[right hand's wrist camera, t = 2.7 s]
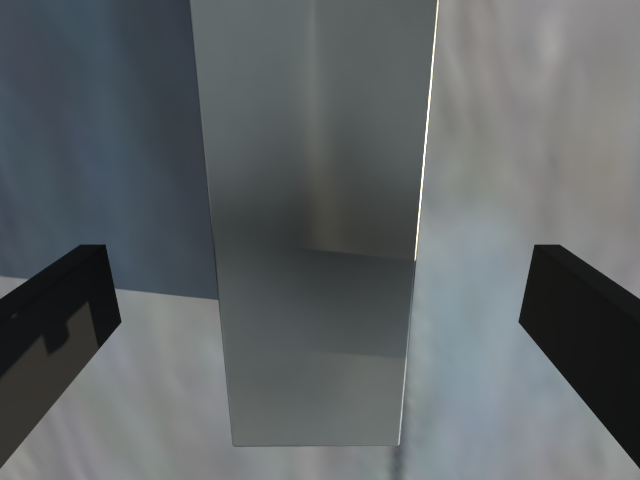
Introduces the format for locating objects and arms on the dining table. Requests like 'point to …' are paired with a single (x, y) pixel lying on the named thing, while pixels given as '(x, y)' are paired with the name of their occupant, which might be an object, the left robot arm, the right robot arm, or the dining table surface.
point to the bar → (315, 208)
